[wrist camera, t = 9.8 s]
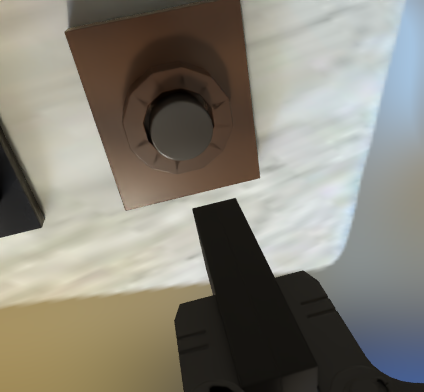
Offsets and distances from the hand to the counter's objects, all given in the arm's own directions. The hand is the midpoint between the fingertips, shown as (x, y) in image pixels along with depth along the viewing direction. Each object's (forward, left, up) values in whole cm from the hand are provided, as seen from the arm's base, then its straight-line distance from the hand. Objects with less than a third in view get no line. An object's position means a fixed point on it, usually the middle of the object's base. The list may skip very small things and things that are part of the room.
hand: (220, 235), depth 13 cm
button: (0, 0, -12) cm, 12 cm away
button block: (0, 0, -15) cm, 15 cm away
